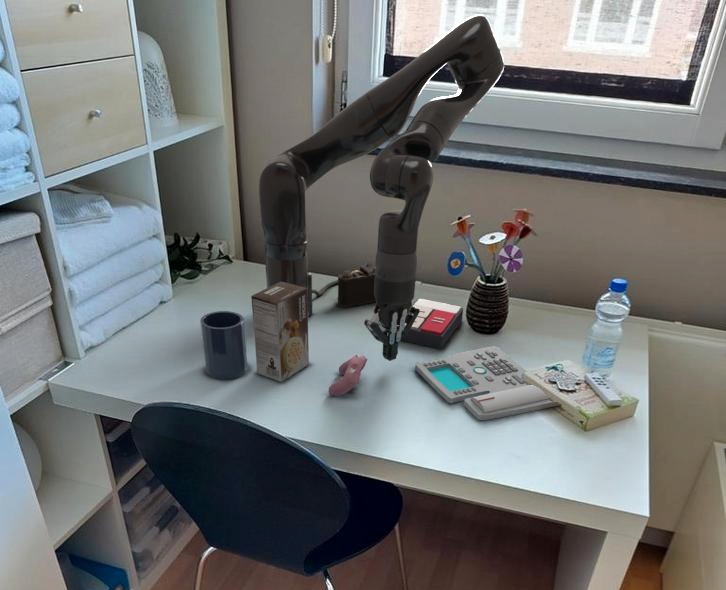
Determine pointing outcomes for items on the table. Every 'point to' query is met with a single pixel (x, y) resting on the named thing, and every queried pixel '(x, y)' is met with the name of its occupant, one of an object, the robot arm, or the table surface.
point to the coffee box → (281, 330)
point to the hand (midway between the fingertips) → (389, 358)
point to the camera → (356, 287)
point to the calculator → (434, 323)
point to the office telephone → (484, 383)
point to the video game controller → (348, 375)
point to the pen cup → (224, 344)
